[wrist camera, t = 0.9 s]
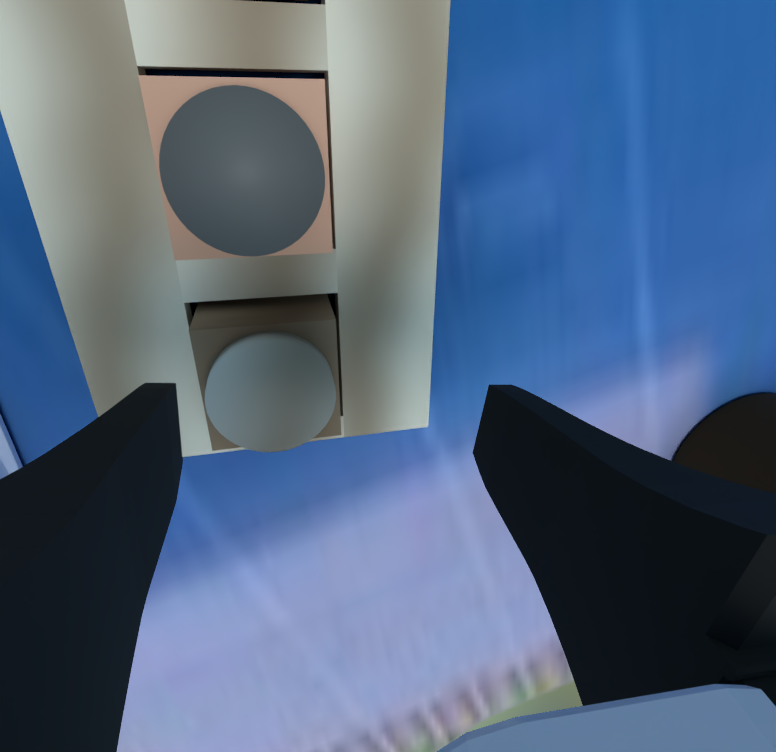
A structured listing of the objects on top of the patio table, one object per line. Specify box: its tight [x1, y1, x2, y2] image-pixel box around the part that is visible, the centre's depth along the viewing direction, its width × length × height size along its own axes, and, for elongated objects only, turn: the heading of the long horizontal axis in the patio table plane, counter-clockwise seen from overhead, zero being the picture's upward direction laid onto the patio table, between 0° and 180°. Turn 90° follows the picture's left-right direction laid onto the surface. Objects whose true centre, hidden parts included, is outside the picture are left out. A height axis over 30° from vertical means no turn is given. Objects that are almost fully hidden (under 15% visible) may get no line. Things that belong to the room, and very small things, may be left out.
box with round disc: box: [189, 294, 341, 452], centre depth 17 cm, size 4×4×4 cm
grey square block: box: [0, 0, 450, 457], centre depth 16 cm, size 12×20×4 cm, turn 179°
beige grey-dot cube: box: [138, 75, 333, 261], centre depth 14 cm, size 4×4×4 cm
